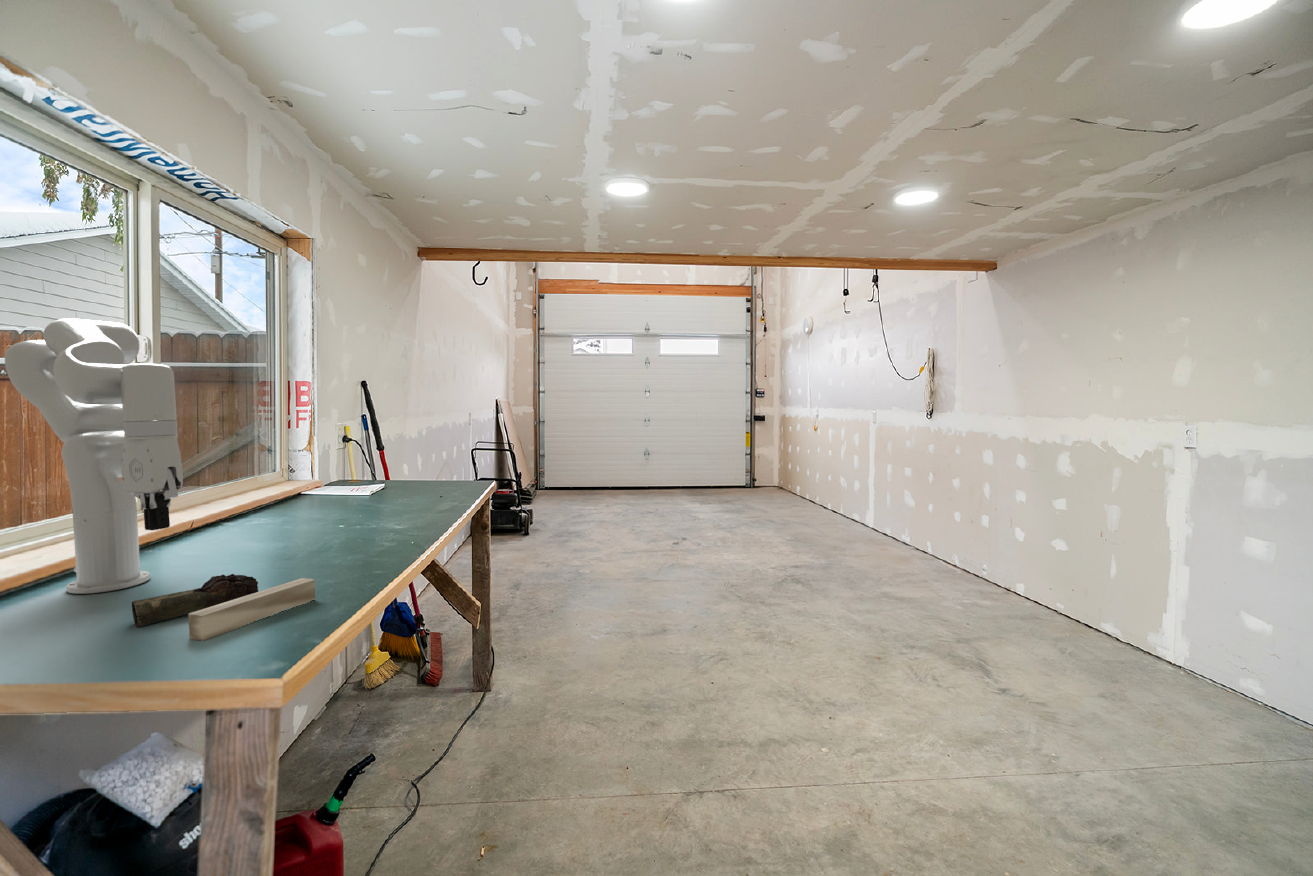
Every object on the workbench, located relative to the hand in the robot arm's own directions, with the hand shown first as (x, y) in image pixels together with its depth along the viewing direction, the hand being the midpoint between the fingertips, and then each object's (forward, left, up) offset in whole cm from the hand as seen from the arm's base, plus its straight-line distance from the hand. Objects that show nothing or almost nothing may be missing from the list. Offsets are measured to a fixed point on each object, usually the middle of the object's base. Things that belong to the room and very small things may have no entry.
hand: (157, 528), depth 109 cm
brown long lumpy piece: (+12, -1, -14) cm, 19 cm away
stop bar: (+25, 0, -14) cm, 29 cm away
